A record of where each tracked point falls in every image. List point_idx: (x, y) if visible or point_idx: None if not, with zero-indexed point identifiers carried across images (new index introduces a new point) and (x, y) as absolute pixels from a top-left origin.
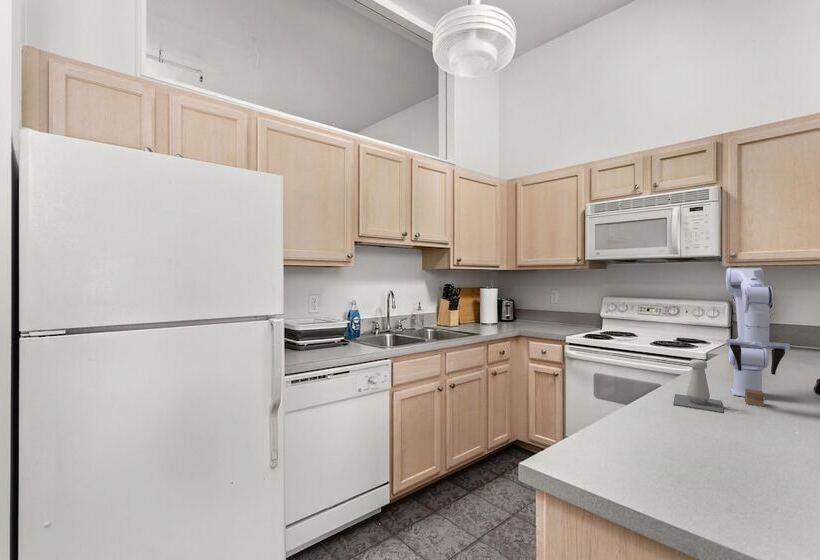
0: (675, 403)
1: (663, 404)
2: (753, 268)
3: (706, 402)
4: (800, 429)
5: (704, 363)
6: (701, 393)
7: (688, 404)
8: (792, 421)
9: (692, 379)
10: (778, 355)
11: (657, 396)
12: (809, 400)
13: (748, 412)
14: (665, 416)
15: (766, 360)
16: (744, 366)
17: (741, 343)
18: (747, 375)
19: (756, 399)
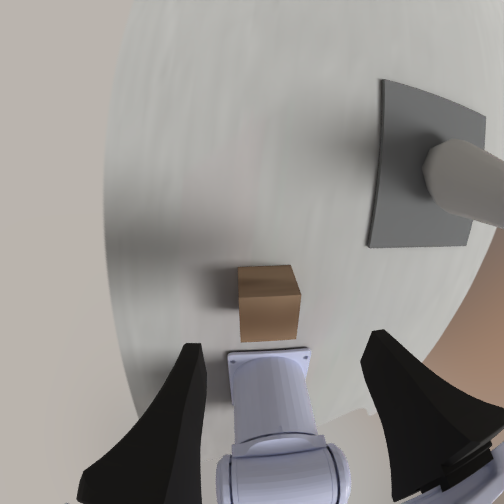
0: (482, 123)
1: (495, 114)
2: None
3: (424, 165)
4: (157, 22)
5: None
6: (465, 143)
7: (461, 127)
8: (162, 109)
9: None
10: (131, 472)
11: None
12: (137, 392)
13: (301, 140)
14: (477, 8)
15: (224, 478)
16: (295, 444)
17: (468, 500)
18: (282, 414)
19: (262, 279)
